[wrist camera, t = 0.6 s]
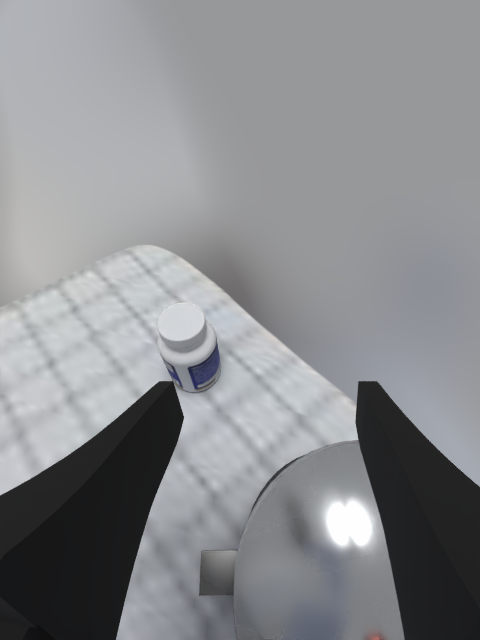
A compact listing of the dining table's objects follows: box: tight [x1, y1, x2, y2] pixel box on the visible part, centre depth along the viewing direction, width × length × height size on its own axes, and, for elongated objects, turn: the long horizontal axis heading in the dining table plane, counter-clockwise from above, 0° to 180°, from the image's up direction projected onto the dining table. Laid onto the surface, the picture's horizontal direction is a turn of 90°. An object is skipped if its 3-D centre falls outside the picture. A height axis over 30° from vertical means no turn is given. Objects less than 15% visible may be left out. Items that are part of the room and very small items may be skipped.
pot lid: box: [233, 440, 405, 640], centre depth 13 cm, size 14×14×2 cm
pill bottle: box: [157, 302, 221, 392], centre depth 28 cm, size 5×5×9 cm
